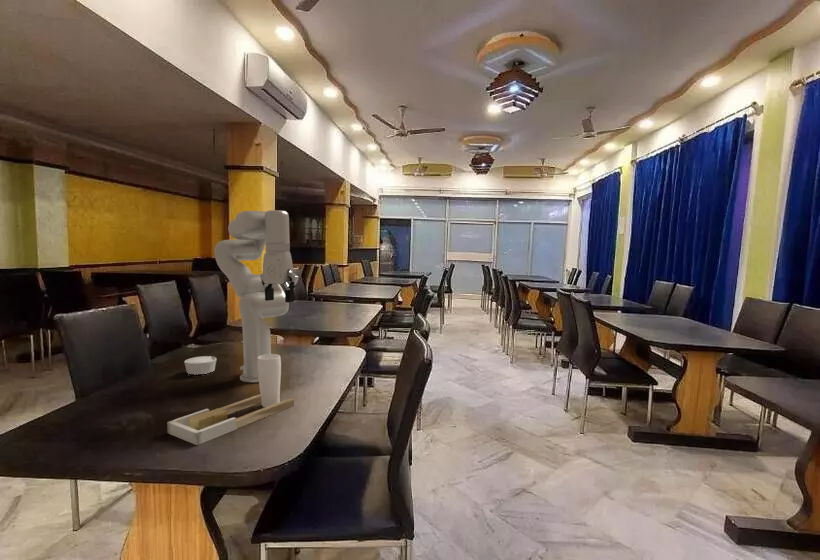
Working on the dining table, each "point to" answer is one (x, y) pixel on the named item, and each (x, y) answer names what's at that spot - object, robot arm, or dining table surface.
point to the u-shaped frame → (197, 437)
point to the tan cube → (201, 421)
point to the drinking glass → (269, 378)
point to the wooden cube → (218, 415)
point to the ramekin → (200, 365)
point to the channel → (259, 413)
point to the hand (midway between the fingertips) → (279, 301)
